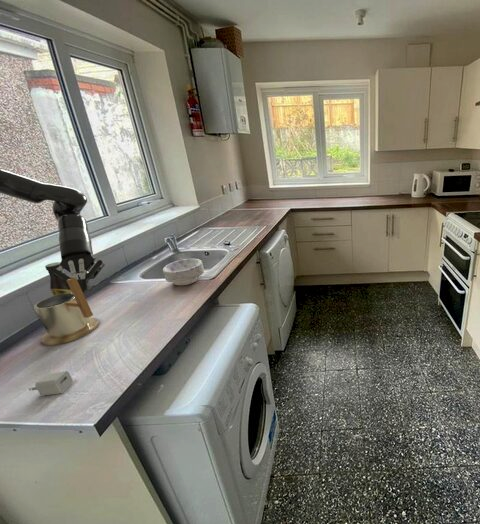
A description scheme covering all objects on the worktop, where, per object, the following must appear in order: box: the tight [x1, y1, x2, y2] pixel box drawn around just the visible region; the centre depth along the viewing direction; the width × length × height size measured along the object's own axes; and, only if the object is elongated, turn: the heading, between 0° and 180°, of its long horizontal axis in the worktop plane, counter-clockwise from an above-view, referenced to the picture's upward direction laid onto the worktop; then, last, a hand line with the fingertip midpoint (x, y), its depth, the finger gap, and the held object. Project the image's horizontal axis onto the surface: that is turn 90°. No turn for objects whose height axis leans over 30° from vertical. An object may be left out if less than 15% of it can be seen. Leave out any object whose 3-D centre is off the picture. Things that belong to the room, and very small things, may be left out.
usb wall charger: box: [28, 370, 74, 397], centre depth 70 cm, size 4×7×4 cm, turn 99°
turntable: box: [40, 317, 100, 346], centre depth 94 cm, size 14×14×1 cm
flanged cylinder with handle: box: [33, 277, 94, 339], centre depth 90 cm, size 16×10×19 cm, turn 78°
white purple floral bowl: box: [162, 258, 205, 286], centre depth 126 cm, size 15×15×8 cm
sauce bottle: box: [45, 261, 72, 296], centre depth 101 cm, size 6×6×20 cm
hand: (82, 292), depth 88 cm, fingers closed
